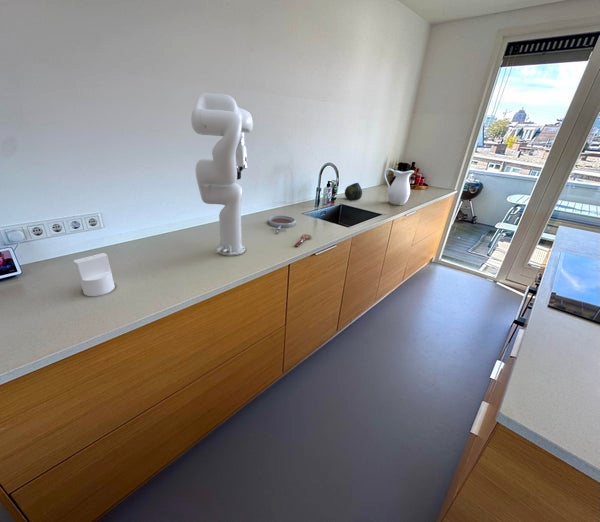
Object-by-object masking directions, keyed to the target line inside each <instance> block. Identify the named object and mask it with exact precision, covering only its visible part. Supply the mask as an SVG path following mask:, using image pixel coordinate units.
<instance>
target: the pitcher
mask: <svg viewBox="0 0 600 522" xmlns="http://www.w3.org/2000/svg"><path fill="white" fill-rule="evenodd" d="M389 171H390V172H392V173H393V175H394V177H395V178H394V180H393V181H392V183H391V185H390V183H389V180H388V179H387V172H389ZM414 173H415V170H414V169H413V170H412V169H410V170H407V171H400V170H394V169H393V168H386V169H385V170H384V172H383V178H384V181H385V183H386V185H387V190H386V192H388V193H387V198H388V201H389V203H390V204H391V205H394V206H403V205H405V204H406V203H407V202H408V200H409V198H410V194H411V185H410V177H411V175H413V174H414Z"/></svg>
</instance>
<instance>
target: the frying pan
mask: <svg viewBox="0 0 600 522" xmlns="http://www.w3.org/2000/svg"><path fill="white" fill-rule="evenodd" d="M267 221H268V224H269V225H270V226H272V227H271V230H273V231H275V234H276V235H277V234H279V231H280V232H283V231H287V229H286V228H292V227H293V226H295V223H296V219H295V218H294V217H293V216H290V215H281V214H280V215H271V216H269V218H267ZM274 227H275V228H274Z"/></svg>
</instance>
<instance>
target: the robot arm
mask: <svg viewBox="0 0 600 522" xmlns="http://www.w3.org/2000/svg"><path fill="white" fill-rule="evenodd" d="M190 116H191V118H190V123H191V127H192V129H193V131H194V133H196V134H198V135H201V136H211V137H212V136H215V137H222V138H220V140H218V141H217V142H216V144H215V145H214V146H213V147H212V150H211V156H212V159H210V158H209V159H205V158H203V159H200V160H197V163H196V165H195V177H196V182H197V186H198V190H199V195H200V198H201V201H202V203H204V204H206V205H222V206H223V207H222V208H221V210H220V211H219V215H218V219H219V220H218V221H219V222H218V223H219V240H220V243H219V246H218V247H217V248H216V249H215V250H214V252H215V253H216V254H220V255H222V256H229V257H231V256H232V257H233V256H240V255H242V254H243V253H245V251H246V246H244V245H243V244H242V200H243V188H242V186H241V185H240V184H239V183H237V181H238V180H241V179H242V171H243V170H245V169H247V168H248V151H247V146H246V145H245V133H246V134H250V133H251V132H252V131H253V128H254V120H253V116H252V114H251V112H249V110H246V109H245V108H241V107H240V106H238V104H237V101H236V100H235V99H234V97H233V96H231V95H229V94H226V93H216V92H215V93H214V92H202V93H200V94H199V96H198V97H197V99H196V101H195V103H194V107H193V109H192V112H191V115H190Z"/></svg>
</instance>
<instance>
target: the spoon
mask: <svg viewBox="0 0 600 522" xmlns="http://www.w3.org/2000/svg"><path fill="white" fill-rule="evenodd" d="M311 239H312V235H310V234H308V233H307V234H306V233H305V234H304V233H303V234H302V235H301V239H300V240H298V241H297V242H296V243H295V244H294V247H295V248H298V247H299V246H300V245H301V244H302V243H304V241H307V240H311Z"/></svg>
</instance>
